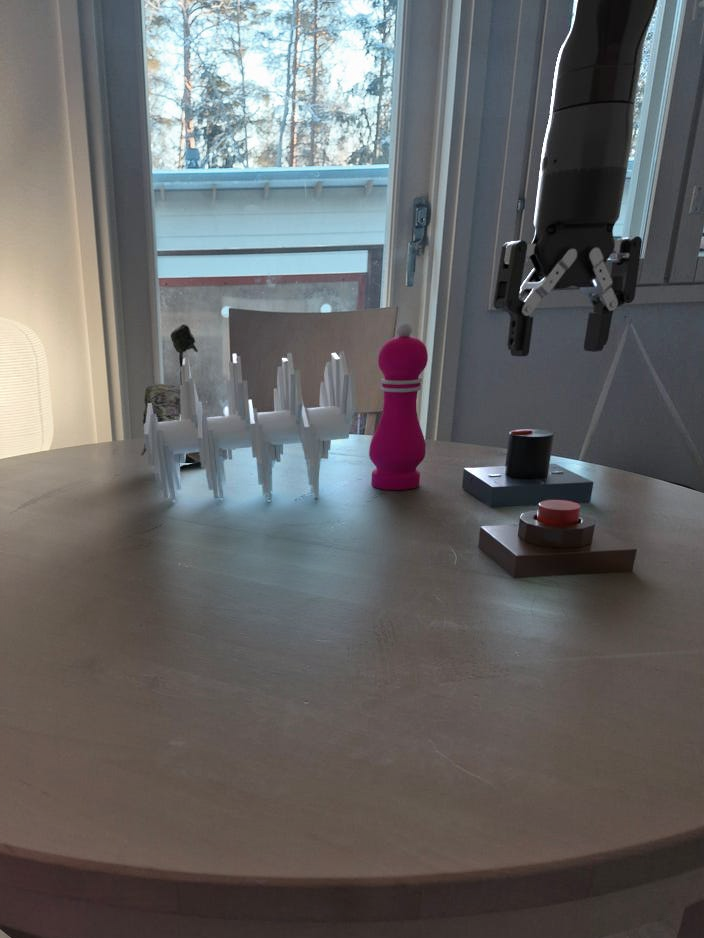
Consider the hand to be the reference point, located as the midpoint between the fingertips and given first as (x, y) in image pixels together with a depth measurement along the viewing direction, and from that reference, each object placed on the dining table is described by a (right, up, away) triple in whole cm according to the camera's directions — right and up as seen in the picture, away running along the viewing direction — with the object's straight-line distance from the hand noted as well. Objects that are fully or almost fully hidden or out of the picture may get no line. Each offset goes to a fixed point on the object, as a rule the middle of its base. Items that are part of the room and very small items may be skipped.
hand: (556, 353), depth 76 cm
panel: (+3, -11, +16) cm, 20 cm away
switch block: (-3, -22, -5) cm, 23 cm away
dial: (+3, -9, +15) cm, 18 cm away
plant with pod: (-41, -2, +39) cm, 57 cm away
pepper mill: (-11, -9, +23) cm, 27 cm away
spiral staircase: (-31, -11, +19) cm, 39 cm away
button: (-3, -19, -7) cm, 20 cm away
